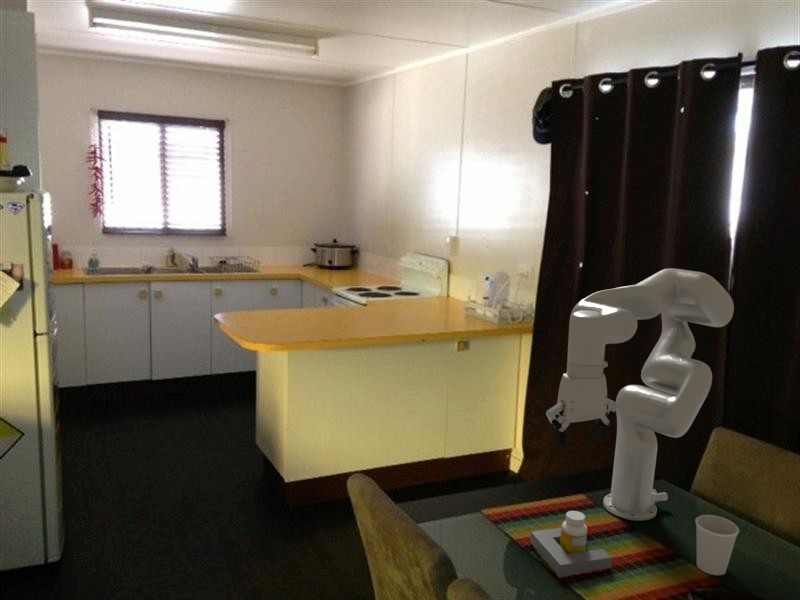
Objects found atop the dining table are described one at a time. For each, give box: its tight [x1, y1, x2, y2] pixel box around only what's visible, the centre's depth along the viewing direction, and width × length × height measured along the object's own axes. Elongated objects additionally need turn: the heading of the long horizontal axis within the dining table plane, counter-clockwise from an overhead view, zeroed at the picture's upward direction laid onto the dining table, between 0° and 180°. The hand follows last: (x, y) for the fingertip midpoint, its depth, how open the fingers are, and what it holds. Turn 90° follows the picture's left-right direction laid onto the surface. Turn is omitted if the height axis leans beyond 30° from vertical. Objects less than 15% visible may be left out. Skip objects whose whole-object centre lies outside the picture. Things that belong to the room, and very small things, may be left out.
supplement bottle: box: [560, 510, 588, 554], centre depth 143 cm, size 5×5×10 cm
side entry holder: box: [529, 527, 613, 579], centre depth 143 cm, size 12×13×3 cm
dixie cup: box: [695, 514, 740, 576], centre depth 141 cm, size 8×8×10 cm
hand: (580, 442), depth 146 cm, fingers open, 9 cm apart
